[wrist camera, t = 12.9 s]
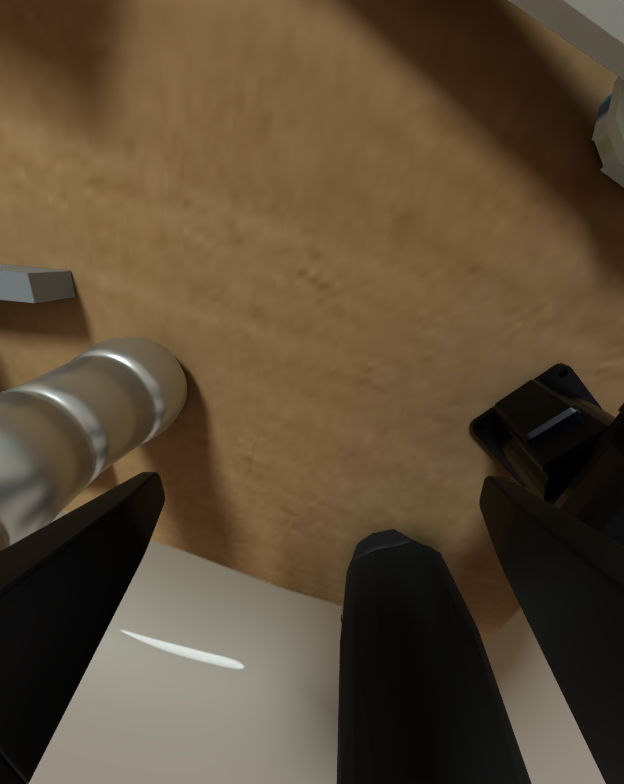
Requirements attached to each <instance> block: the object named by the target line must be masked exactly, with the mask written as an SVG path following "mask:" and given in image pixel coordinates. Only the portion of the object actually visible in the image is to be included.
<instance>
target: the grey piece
mask: <svg viewBox="0 0 624 784" xmlns="http://www.w3.org/2000/svg"><path fill="white" fill-rule="evenodd" d="M508 1H510V2H511V3H513V4H514V5H516V6H517V7H518V8H520V9H521V10H523V11H524V12H526V13H527V14H529V15H530V16H532V17H533V18H534V19H536V20H537V21H539V22H540V23H542V24H543V25H545V26H546V27H547V28H549V29H550V30H552V31H553V32H555V33H556V34H558V35H559V36H561V37H562V38H563V39H565V40H566V41H568V42H569V43H571V44H572V45H574V46H575V47H577V48H578V49H579V50H581V51H582V52H584V53H585V54H587V55H588V56H590V57H591V58H592V59H594V60H595V61H597V62H598V63H600V64H601V65H603V66H604V67H606V68H607V69H608V70H610V71H611V72H613V73H614V74H616V75H617V76H619V77H618V79H617V80H616V81H615V83H614V88H613V91H612V92H611V94H610V95H609V96H608V97H607V99H606V100H605V101H604V102H603V103H602V105H601V106H600V108H599V112H598V116H597V120H596V124H595V128H594V133H593V137H592V141H593V140H594V142H595V144H596V147H597V150H598V153H599V155H600V158H601V161H602V164H603V167H602V168H601V169H600V171H602V172H603V173H604V174H606V175H607V176H609V177H610V178H611V179H613V180H614V181H615V182H617V183H618V184H620V185H621V186H622V187H624V0H508Z"/></svg>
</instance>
